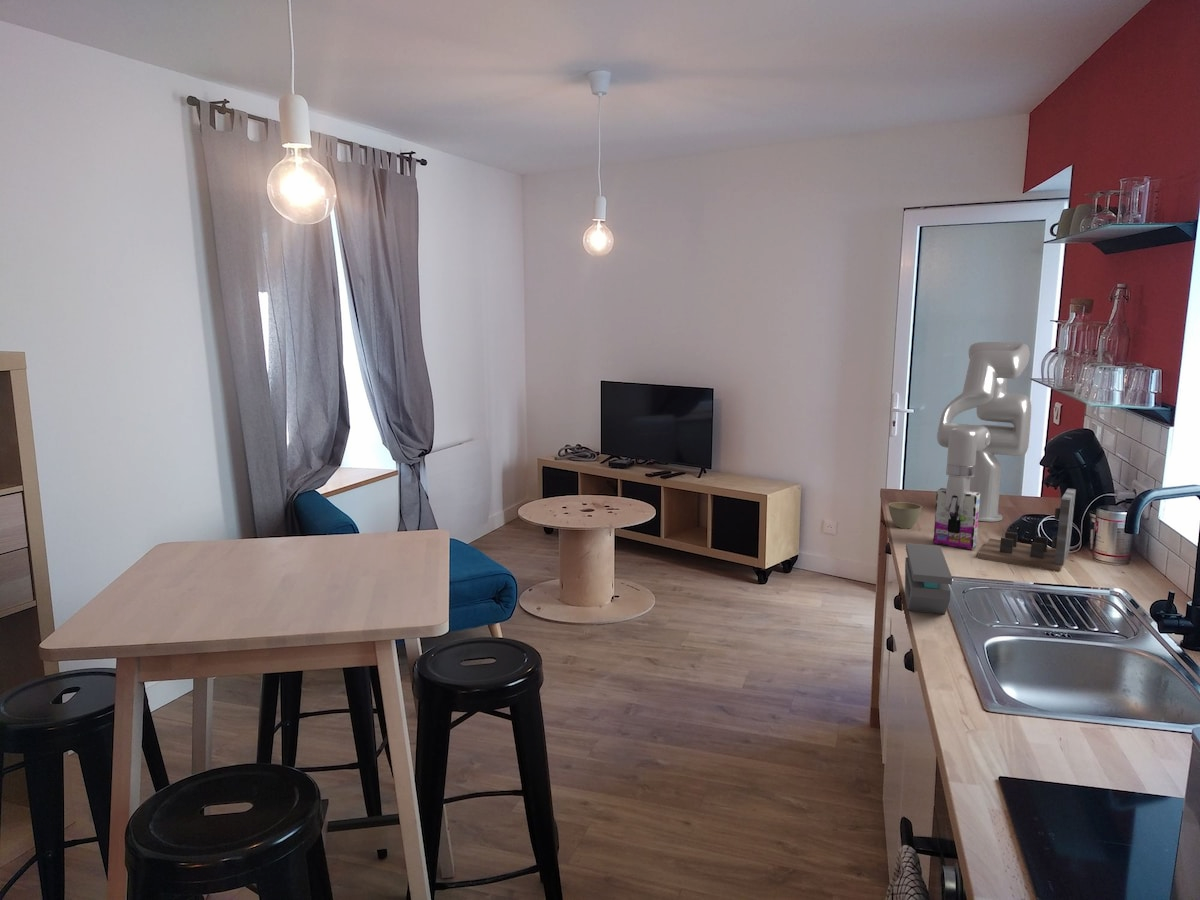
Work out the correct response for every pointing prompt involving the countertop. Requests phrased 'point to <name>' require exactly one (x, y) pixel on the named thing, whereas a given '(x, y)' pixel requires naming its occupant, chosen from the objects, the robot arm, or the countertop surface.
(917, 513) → the flower pot
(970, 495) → the candy bar box
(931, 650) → the countertop surface
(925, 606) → the grey lidded box
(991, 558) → the wooden bookend
